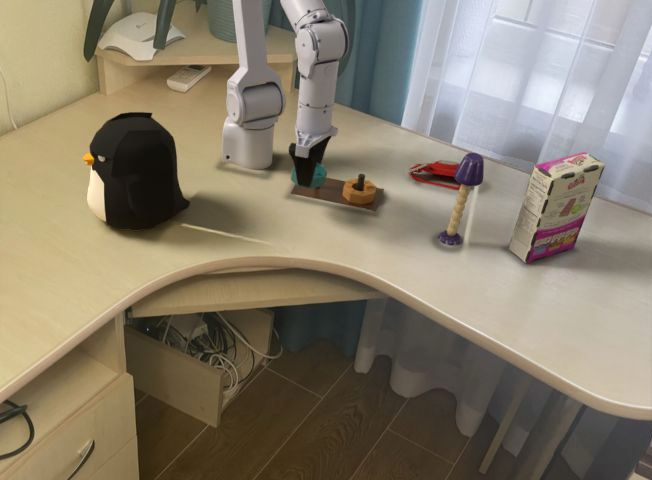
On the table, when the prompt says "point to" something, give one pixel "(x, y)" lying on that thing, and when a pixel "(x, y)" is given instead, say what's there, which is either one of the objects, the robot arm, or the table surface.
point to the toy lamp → (463, 194)
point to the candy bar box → (555, 206)
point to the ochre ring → (359, 192)
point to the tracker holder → (435, 171)
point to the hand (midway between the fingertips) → (308, 175)
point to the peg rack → (338, 193)
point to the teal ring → (318, 177)
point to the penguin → (134, 173)
